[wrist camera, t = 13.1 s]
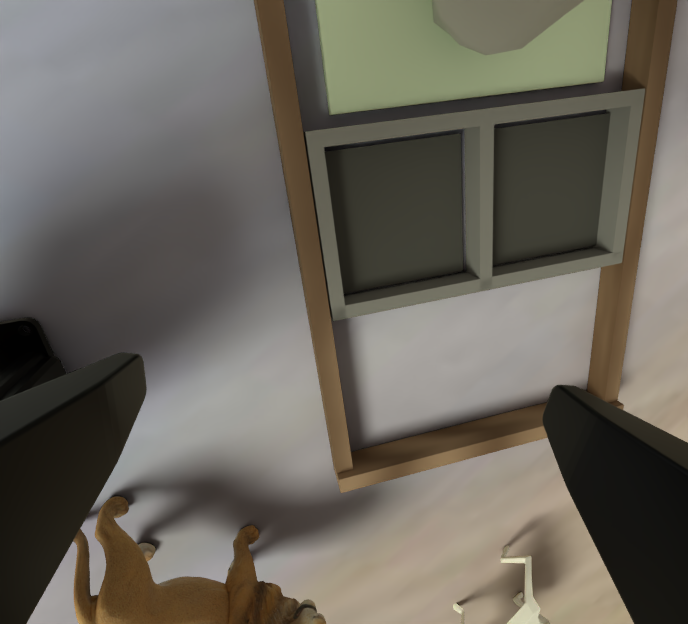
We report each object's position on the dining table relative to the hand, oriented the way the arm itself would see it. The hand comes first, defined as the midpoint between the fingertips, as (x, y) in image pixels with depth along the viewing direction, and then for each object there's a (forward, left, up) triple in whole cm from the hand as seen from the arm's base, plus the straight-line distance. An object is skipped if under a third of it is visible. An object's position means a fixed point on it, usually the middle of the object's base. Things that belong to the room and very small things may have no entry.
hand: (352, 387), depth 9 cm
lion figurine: (-8, -16, -13) cm, 22 cm away
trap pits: (+10, +1, -13) cm, 16 cm away
